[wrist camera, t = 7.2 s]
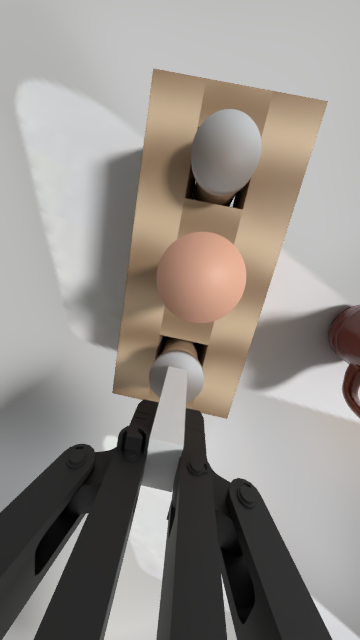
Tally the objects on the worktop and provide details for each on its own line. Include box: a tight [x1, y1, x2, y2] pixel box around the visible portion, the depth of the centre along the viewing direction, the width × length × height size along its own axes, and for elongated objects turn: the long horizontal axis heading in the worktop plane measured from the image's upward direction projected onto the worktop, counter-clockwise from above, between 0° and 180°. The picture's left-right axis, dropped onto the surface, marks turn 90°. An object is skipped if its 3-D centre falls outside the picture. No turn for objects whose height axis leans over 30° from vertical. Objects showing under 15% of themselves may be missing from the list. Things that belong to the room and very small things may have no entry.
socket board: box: [113, 69, 328, 418], centre depth 19 cm, size 26×12×7 cm, turn 169°
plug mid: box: [156, 232, 246, 323], centre depth 13 cm, size 4×4×9 cm
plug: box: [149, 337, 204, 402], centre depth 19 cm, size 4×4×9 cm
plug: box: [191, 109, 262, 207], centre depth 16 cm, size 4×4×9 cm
